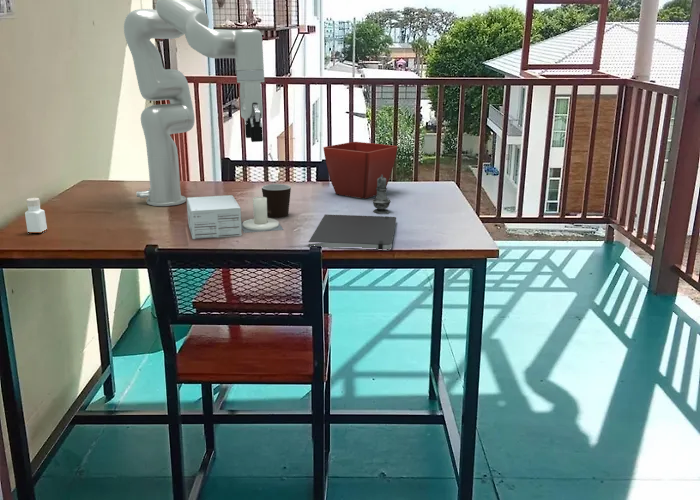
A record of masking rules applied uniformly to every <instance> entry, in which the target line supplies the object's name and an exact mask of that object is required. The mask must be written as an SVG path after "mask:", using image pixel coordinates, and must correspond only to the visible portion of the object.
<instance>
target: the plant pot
mask: <svg viewBox="0 0 700 500" xmlns="http://www.w3.org/2000/svg"><path fill="white" fill-rule="evenodd" d="M322 148H323V153H324V160H325V163H326V167H327V173H328V176H329V179H330V182H331V184H332V187H333V190H334V192H335V195H338V194H339V195H338V196H344V195H345V197H350V196H351V197H352V198H356V197H357V199H362V198H364V199H368V198H372V197H375V196H377V190H376V188H377V180H378V178H380V177H381V175H383V177H384V178H386V188H387V186H388V185H389V184H388V183H389V181H390V177H391V176H392V171H393V169H394V164H395V161H396V156H397V151H398V145H391V144H390V145H389V144H382V143H381V144H380V143H371V142H363V141H360V142H359V141H351V142H350V141H349V142H344V143H340V144H339V143H338V144H335V145H334V144H332V145H329V146H328V145H327V146H323V147H322ZM351 197H350V198H351Z"/></svg>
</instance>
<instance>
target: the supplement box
mask: <svg viewBox="0 0 700 500" xmlns="http://www.w3.org/2000/svg"><path fill="white" fill-rule="evenodd" d="M186 209H187V211H186V212H187V220H188V221H187V222H188V224H187V225H188V227H189V231H190V235H191V239H192V240H202V239H203V240H205V239H215V238H216V239H217V238H229V237H230V238H231V237H239V236H240V237H241V236H243V234H242V228H241V222H242V212H241V211H242V208H241V206H240V205H239V203H238V202H237V200H236V198H235V197H234V196H233V194H231V195H229V194H228V195H214V196H213V195H212V196H210V195H209V196H193V197H186Z"/></svg>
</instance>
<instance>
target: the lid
mask: <svg viewBox="0 0 700 500" xmlns="http://www.w3.org/2000/svg"><path fill="white" fill-rule="evenodd" d="M252 203H253V204H252V205H253V206H252V207H253V211H252V212H253V218H250V219H246V220H244V221H242V222H243V228H244V229H247V230H252V231H263V232H267V231H266V230H272V229H275V228H277V227H278V226H279V224H280V222H279V220H278V219H276V218H270V217H267V198H266V197H263V196H255V197H253V198H252Z"/></svg>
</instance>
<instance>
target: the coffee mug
mask: <svg viewBox="0 0 700 500" xmlns="http://www.w3.org/2000/svg"><path fill="white" fill-rule="evenodd" d="M291 190H292V187H291V185H289V184H282V183H274V184H273V183H272V184H266V185H263V186H261V192H262V193H261V194H262V197H266V198H267V218H270V219H281V218H285V217H288V216H289V211H290V210H289V209H290V203H291V201H290V200H291Z"/></svg>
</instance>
